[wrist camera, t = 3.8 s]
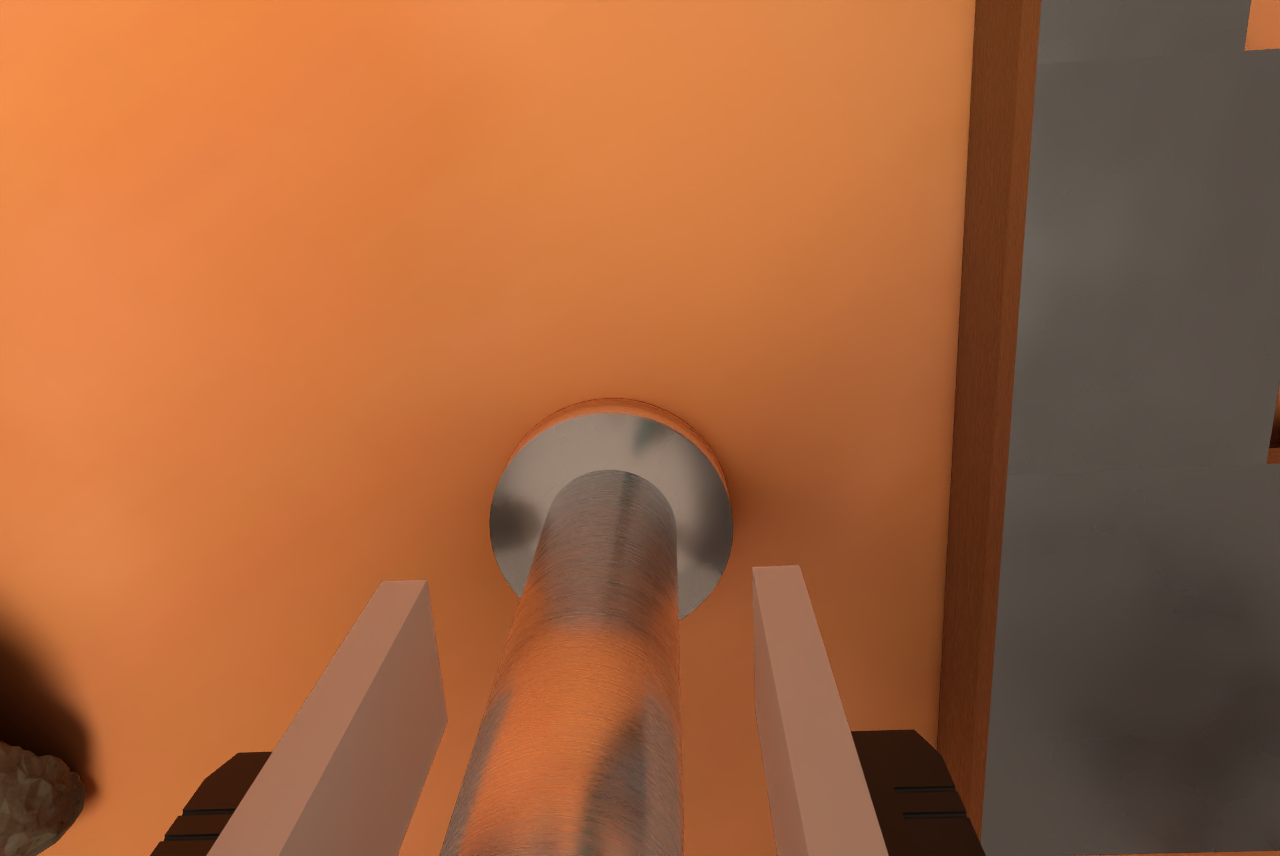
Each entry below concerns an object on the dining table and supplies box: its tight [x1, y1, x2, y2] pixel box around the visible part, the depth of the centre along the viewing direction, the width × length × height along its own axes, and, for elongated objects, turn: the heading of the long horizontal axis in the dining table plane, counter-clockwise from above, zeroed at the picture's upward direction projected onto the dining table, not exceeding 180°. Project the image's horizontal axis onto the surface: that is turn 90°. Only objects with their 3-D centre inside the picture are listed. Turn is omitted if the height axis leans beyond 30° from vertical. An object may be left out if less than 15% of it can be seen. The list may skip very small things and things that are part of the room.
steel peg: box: [439, 398, 733, 856], centre depth 12 cm, size 5×5×17 cm
